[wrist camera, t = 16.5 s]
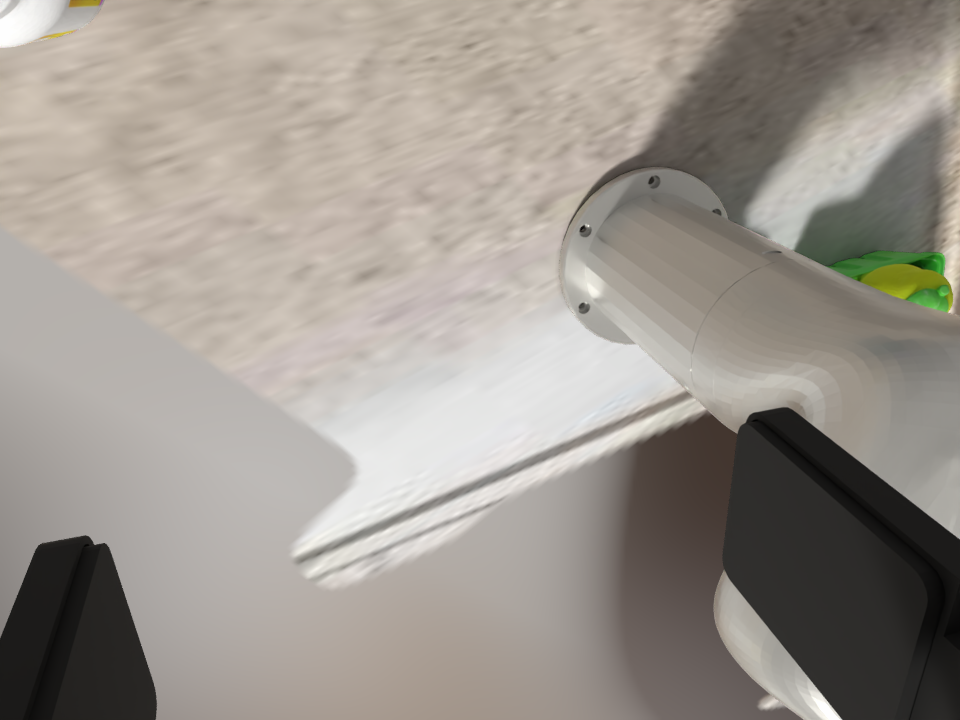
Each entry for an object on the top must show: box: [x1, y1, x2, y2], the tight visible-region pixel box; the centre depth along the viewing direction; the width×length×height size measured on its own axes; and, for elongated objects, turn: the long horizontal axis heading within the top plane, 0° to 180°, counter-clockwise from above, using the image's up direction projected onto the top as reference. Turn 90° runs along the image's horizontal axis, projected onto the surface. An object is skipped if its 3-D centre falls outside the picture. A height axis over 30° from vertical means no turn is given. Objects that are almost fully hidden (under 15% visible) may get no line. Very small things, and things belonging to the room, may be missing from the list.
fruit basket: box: [826, 251, 953, 313], centre depth 54 cm, size 11×9×11 cm
